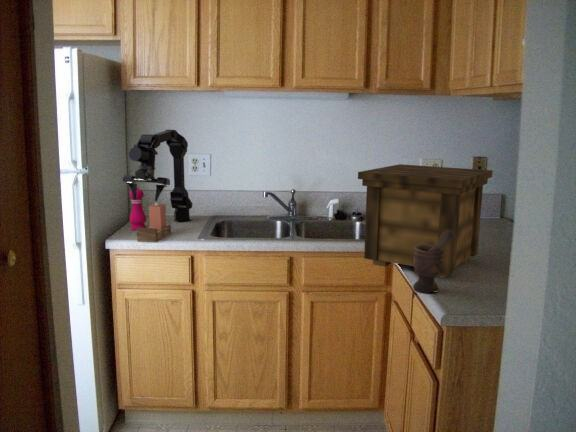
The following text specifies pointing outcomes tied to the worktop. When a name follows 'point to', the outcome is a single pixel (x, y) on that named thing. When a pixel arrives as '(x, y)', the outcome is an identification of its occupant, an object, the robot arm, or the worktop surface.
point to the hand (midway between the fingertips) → (145, 200)
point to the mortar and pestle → (429, 263)
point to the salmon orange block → (157, 216)
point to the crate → (422, 212)
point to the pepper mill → (137, 211)
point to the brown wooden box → (152, 234)
